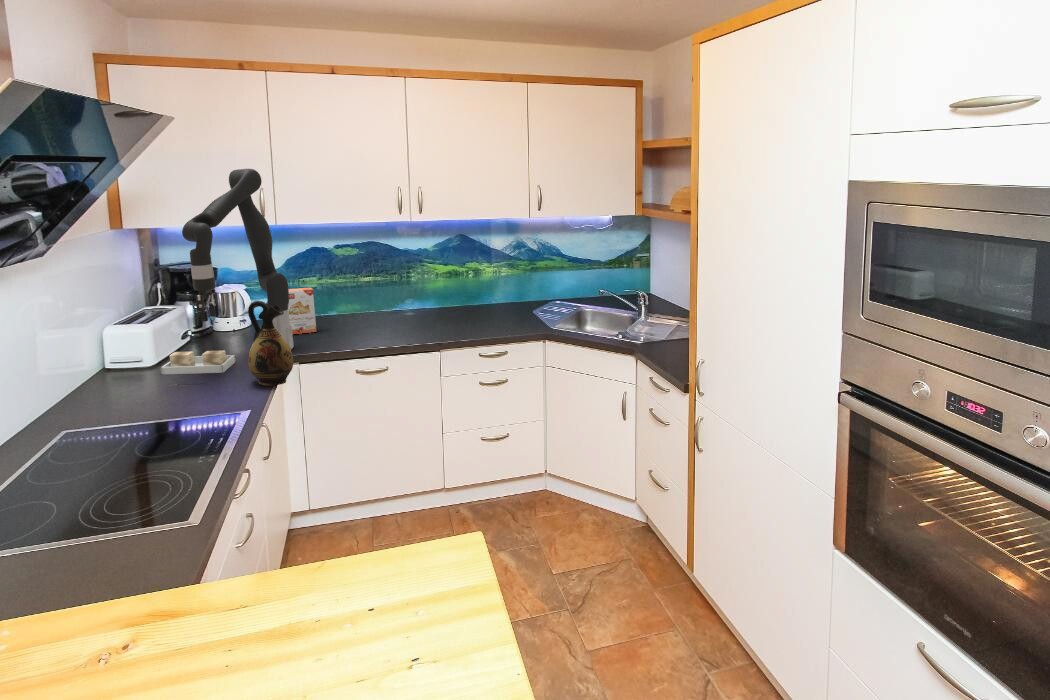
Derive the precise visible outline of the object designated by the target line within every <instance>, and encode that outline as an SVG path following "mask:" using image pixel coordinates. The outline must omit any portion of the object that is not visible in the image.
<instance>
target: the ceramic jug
mask: <svg viewBox="0 0 1050 700" xmlns="http://www.w3.org/2000/svg"><path fill="white" fill-rule="evenodd" d="M266 303H267V302H265V301H261V300H255V301H252V302H251V303H250V304H249V306H248V308H247V309H248V310H247V312H248V316H249V320H250V322H251V324H252V326H253V329H254V334H253V340H252V341H253V343H252V344H251V347H250V349H249V353H248V361H247V362H248V369H249V372H250V373H251V375H252V376H254V377H255V378H256V379H257V380H258V384H259V385H262V386H266V387H267V386H268V387H277V386H279V385H284V384H286V383H287V379H288V377H289V375H290V373H291V372H292V370H293V367H294V356H293V353H292V349H291V350H290V347H289V346H288V344H287V342H286V341H285V339H284V338H283V337H282V335H281V334H280V333H279V332H278V331H277V330H276V328H275V327H274V325H273V319H274V318H276V317H278V316H280V315H283V314H284V312H283V311H282V310H281V308H280V307H279V306H277V305H274V306H271V307H270V308H268V306H267V304H266ZM258 307H260V308H261V309H262V311H261V312H260V313H259V314H258V319H259V320H262V324H261V328H260V325H259V323H258V321H257V318H256V314H255V308H258Z"/></svg>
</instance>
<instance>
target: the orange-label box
mask: <svg viewBox="0 0 1050 700" xmlns="http://www.w3.org/2000/svg"><path fill="white" fill-rule="evenodd" d="M226 355H227V353H226V350H206V351H205V352H203V353H202V354H201V356H202V358H203V365H204V366H208V365H222V364H223V363H224V362H225V361H226Z"/></svg>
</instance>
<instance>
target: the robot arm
mask: <svg viewBox="0 0 1050 700" xmlns="http://www.w3.org/2000/svg"><path fill="white" fill-rule="evenodd" d="M262 183H263V182H262V177H261V175H260V173H259V171H257V170H256V169H253V168H241V169H239V168H238V169H234V170H233V169H232V170H231V171H230V172H229V175H228V184H229V187H230V189H229V190H228V191H227V192H225V193H223V194H222V195H220V196H218V197H217V198H216V199H214V200H212V201H211V202H210V203H209V205H207V206H206V207H205V208H204V209H203V211H202V212H200V213H199V214H197V215H195V216H194V217H193V218H190V219H189V220H188V221H187V222H185V224H184V225H183V227H182V230H181V232H182V233H181V234H182V237H183V238H184V239H185V240H186V241H188V242H191V243H192V242H193V243H194V242H195V243H196V244H195V248H193V249H190V250H189V258H190V259H189V260H190V266H191V267H190V268H191V270H190V271H191V277H192V286H193V290H194V291H198V294H195V296H194V297H195V303H196V304H195V305H196V311H197V312H200V319H201V322H208V321H209V318H208V317H210V318H211V317H216V316H217V313H216V311H217V310H216V305H217V304H218V299H217V295H216V294H217V293H216V289H215V288H216V281H215V272H214V268H213V264H212V257H211V256H212V255H211V251H212V244H213V230H212V229H213V228H216V227H217V226H219V225H220V224H221V223H222V222H223V220H225V218H226V217H227V216H228V215H229V214H230V213H231V212H232V211H233V210H234V209H235V208H236V207H237V208H238V211H239V214H240V217H241V219H242V223H243V226H244V230H245V233H246V234H245V235H246V237H247V241H248V244H249V248H250V250H251V254H252V257H253V260H254V263H255V267H256V273H257V279H258V284H259V287H260V288H261V290H263V291H264V292H265V293H266V296H267V297H266V298H267V301H266V302H265V303H266V304H267V306H268V308H270V307H271V306H274V305H277V306H279V307H280V308H281V310H282V311H283V312H284V314H283V315H280V316H278V317H276V318H274V319H273V325H274V327H275V328H276V330H277V331H278V332H279V333H280V334H281V335H282V337H283V338H284V339H285V341H286V342H287V344H288V346H289V347H290V350H291V351H292V349H293V348H294V338H293V336H294V335H292V326H290V321H289V311H288V304H289V289H290V288H289V284H288V279H287V277H286V276H285V275H284V274H283V273H281V272H278V271H277V269H276V267H275V264H274V260H273V237H272V231H271V229H270V225H269V223H268V221H267V220H266V218H265V217H264V215H263V214H262V213H261V212H260V211H259V209H258V207H256V205H255V203H254V201H253V197H252V195H253V194H255V193H256V192H257V191H259V189H260V188H261V187H262ZM208 313H209V316H208Z"/></svg>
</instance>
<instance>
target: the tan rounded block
mask: <svg viewBox="0 0 1050 700" xmlns="http://www.w3.org/2000/svg"><path fill="white" fill-rule="evenodd" d="M194 353H195V352H194V351H174V352H173V353H171V354H170V355H169V362H170V363H171V367H179V366H195V359H194V356H195V354H194Z"/></svg>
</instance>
